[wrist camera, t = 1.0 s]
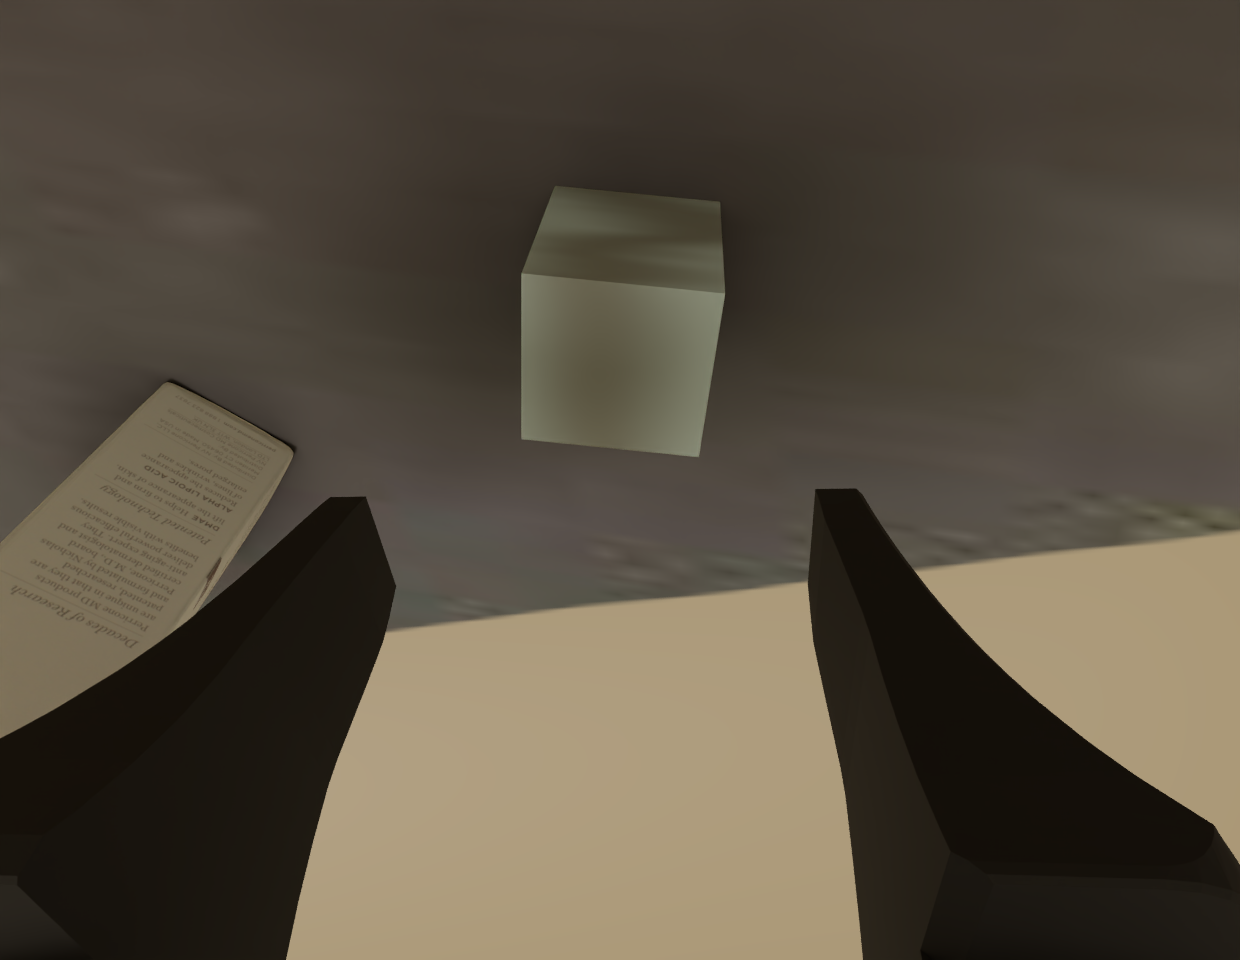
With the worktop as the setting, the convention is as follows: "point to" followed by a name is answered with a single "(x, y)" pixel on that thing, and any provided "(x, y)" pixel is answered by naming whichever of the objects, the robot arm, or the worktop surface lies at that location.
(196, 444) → the skincare box
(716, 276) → the greenish gray cube
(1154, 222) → the worktop surface
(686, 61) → the worktop surface
